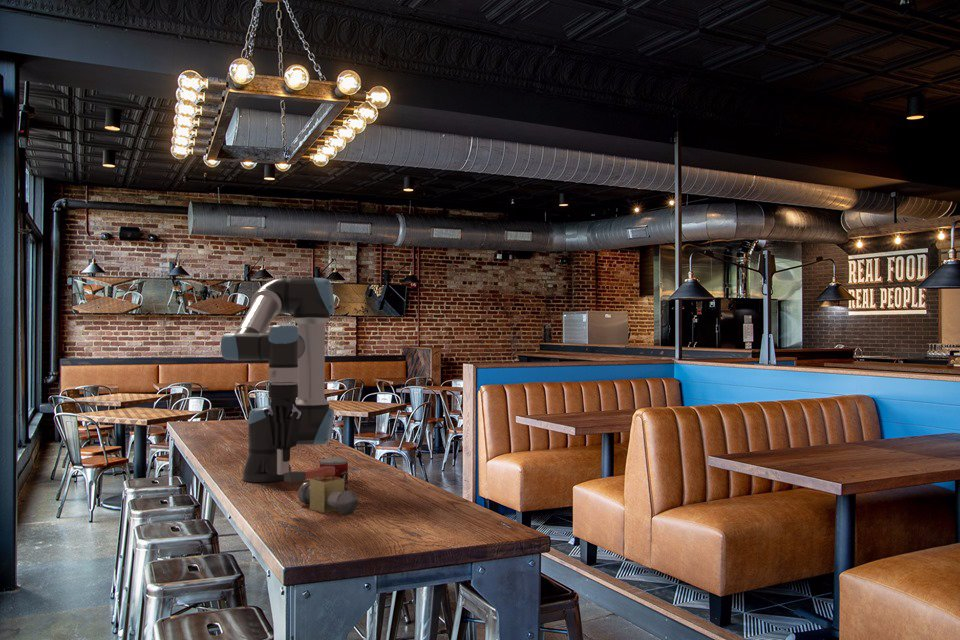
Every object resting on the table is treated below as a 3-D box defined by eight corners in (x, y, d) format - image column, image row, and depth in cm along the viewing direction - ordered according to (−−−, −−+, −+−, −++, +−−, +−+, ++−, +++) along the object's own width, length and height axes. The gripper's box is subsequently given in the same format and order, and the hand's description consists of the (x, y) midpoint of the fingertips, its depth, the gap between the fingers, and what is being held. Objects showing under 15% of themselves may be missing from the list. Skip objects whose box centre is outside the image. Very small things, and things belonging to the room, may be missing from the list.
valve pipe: (297, 505, 200) (297, 473, 201) (316, 501, 205) (317, 470, 205) (338, 517, 188) (338, 482, 188) (358, 512, 193) (358, 479, 193)
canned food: (334, 504, 202) (334, 463, 203) (313, 500, 207) (313, 461, 207) (353, 498, 209) (353, 459, 209) (332, 495, 213) (332, 457, 213)
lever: (329, 473, 199) (329, 465, 200) (337, 474, 197) (338, 467, 197) (283, 480, 189) (283, 472, 189) (291, 482, 186) (291, 474, 186)
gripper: (255, 383, 196) (255, 473, 195) (289, 385, 188) (288, 478, 188) (278, 382, 202) (277, 469, 201) (311, 383, 195) (310, 474, 194)
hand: (282, 473), depth 195 cm, fingers closed
